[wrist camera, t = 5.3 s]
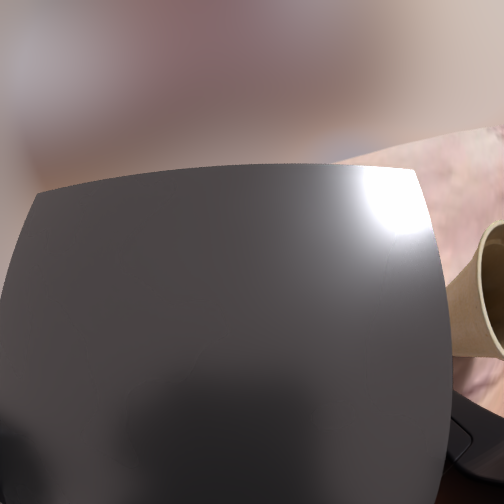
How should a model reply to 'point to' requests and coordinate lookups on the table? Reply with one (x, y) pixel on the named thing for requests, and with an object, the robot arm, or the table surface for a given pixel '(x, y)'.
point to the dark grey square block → (227, 340)
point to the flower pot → (480, 300)
